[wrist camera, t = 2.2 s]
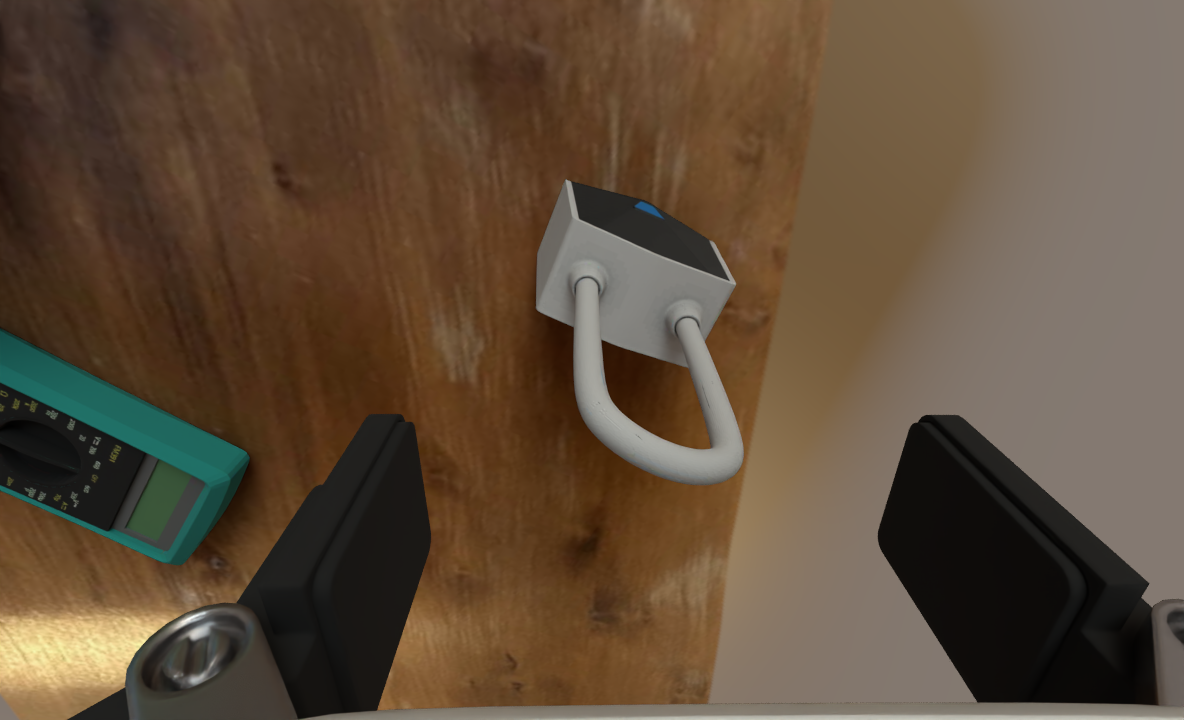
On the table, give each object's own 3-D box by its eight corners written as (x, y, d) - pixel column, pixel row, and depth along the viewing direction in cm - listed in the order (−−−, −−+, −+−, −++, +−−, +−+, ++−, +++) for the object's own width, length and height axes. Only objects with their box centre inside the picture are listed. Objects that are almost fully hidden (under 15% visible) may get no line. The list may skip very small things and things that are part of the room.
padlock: (719, 232, 24) (890, 442, 10) (674, 318, 25) (770, 593, 12) (569, 168, 22) (541, 311, 9) (533, 263, 24) (464, 500, 11)
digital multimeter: (-69, 281, 24) (-149, 306, 22) (262, 449, 28) (229, 487, 26) (-95, 399, 27) (-169, 434, 24) (211, 537, 31) (176, 580, 28)
